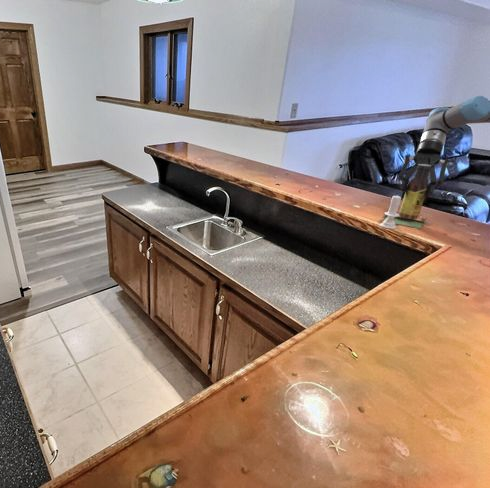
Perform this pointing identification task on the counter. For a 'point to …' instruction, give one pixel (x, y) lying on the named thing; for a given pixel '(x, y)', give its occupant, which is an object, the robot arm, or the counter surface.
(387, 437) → the counter surface
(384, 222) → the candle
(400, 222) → the mat
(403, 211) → the sauce bottle
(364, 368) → the counter surface
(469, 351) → the counter surface
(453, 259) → the counter surface
